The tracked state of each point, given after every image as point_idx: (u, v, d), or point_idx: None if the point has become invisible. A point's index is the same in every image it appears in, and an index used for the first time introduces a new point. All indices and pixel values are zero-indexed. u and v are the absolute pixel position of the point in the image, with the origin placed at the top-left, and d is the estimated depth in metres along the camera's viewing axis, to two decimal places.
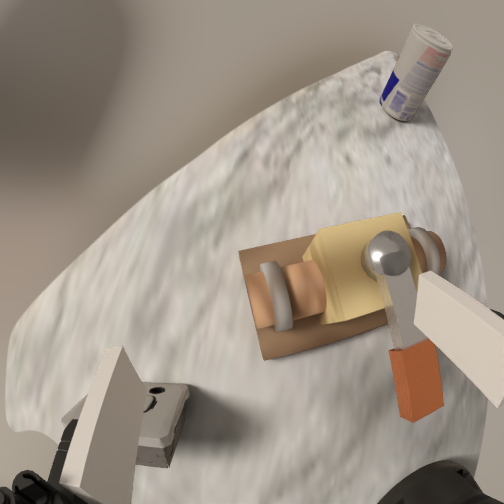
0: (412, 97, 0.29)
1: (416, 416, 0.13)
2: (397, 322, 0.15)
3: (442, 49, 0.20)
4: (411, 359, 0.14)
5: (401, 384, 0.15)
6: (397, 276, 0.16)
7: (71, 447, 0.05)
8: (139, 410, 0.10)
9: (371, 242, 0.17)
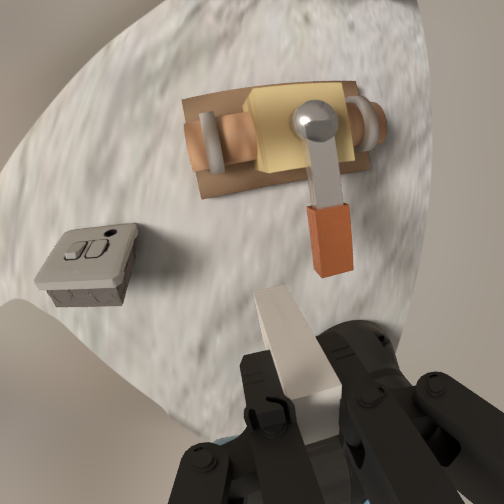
0: None
1: (325, 273, 0.20)
2: (314, 184, 0.18)
3: None
4: (323, 220, 0.19)
5: (314, 240, 0.20)
6: (320, 142, 0.18)
7: (280, 367, 0.08)
8: None
9: (299, 108, 0.17)
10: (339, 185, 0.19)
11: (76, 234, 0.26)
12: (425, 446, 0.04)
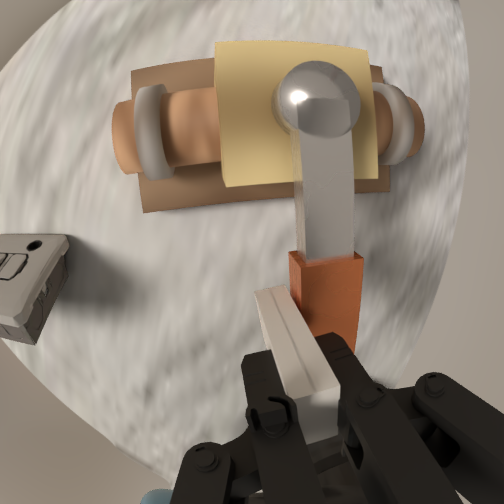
0: None
1: None
2: (305, 217, 0.10)
3: None
4: (315, 283, 0.11)
5: None
6: (324, 140, 0.09)
7: (281, 366, 0.08)
8: None
9: None
10: (351, 222, 0.10)
11: (2, 241, 0.17)
12: (424, 447, 0.04)
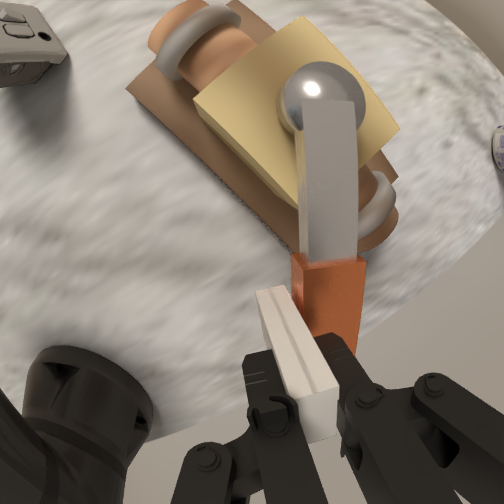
0: None
1: None
2: (308, 219, 0.10)
3: None
4: (317, 286, 0.10)
5: None
6: (328, 141, 0.09)
7: (282, 366, 0.08)
8: None
9: (294, 73, 0.08)
10: (354, 225, 0.10)
11: (33, 13, 0.11)
12: (423, 447, 0.04)
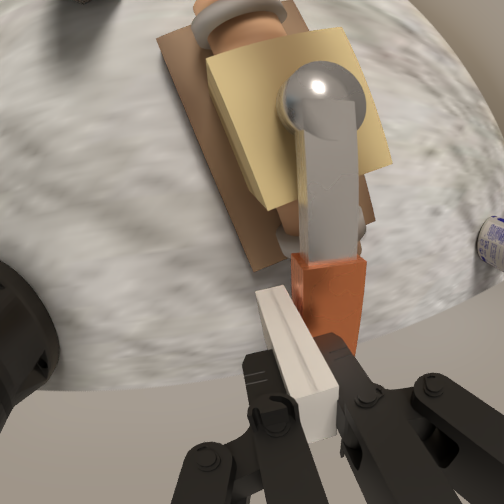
0: None
1: None
2: (309, 219, 0.10)
3: None
4: (317, 286, 0.10)
5: None
6: (329, 141, 0.09)
7: (282, 366, 0.08)
8: None
9: (294, 72, 0.08)
10: (355, 225, 0.10)
11: None
12: (423, 447, 0.04)
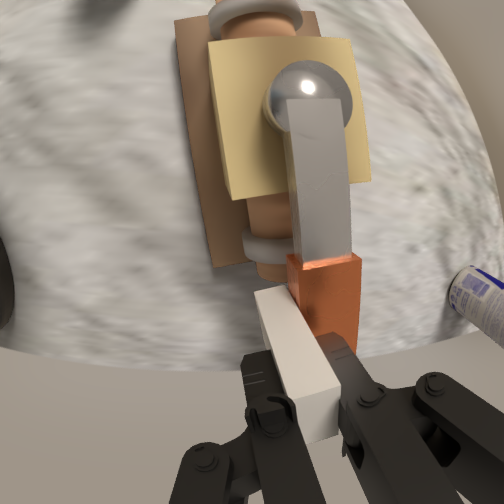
0: (480, 304, 0.21)
1: None
2: (300, 220, 0.10)
3: None
4: (313, 286, 0.10)
5: None
6: (316, 140, 0.09)
7: (280, 367, 0.08)
8: None
9: (278, 74, 0.08)
10: (347, 223, 0.10)
11: None
12: (424, 446, 0.04)
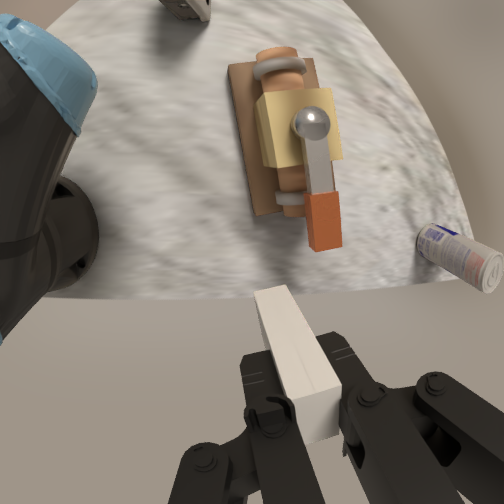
0: (438, 247, 0.34)
1: (318, 248, 0.25)
2: (310, 174, 0.23)
3: (481, 274, 0.26)
4: (317, 203, 0.23)
5: (309, 220, 0.25)
6: (315, 141, 0.22)
7: (279, 367, 0.08)
8: None
9: (298, 112, 0.21)
10: (330, 175, 0.23)
11: None
12: (425, 446, 0.04)
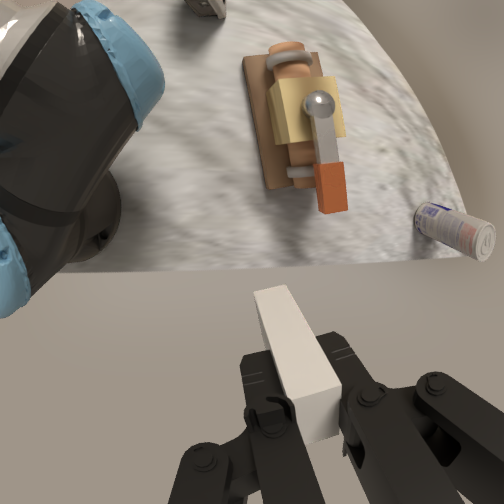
0: (433, 221, 0.37)
1: (327, 210, 0.28)
2: (318, 146, 0.26)
3: (474, 242, 0.29)
4: (325, 171, 0.26)
5: (319, 186, 0.28)
6: (322, 119, 0.25)
7: (280, 367, 0.08)
8: None
9: (308, 95, 0.24)
10: (336, 148, 0.26)
11: None
12: (425, 446, 0.04)
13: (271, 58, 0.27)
